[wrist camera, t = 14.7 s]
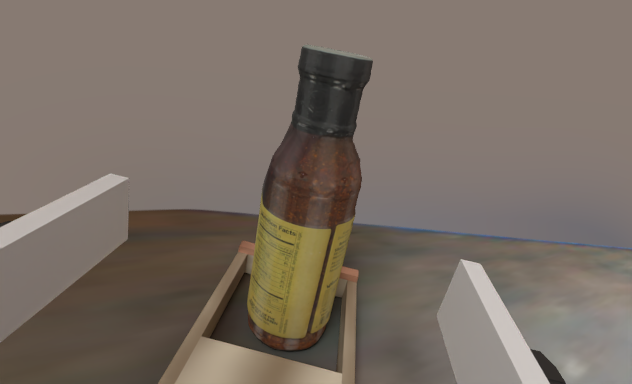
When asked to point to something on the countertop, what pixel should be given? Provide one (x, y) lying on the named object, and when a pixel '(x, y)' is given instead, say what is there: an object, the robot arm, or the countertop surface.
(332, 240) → the sauce bottle
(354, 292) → the bottle rack
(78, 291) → the countertop surface
